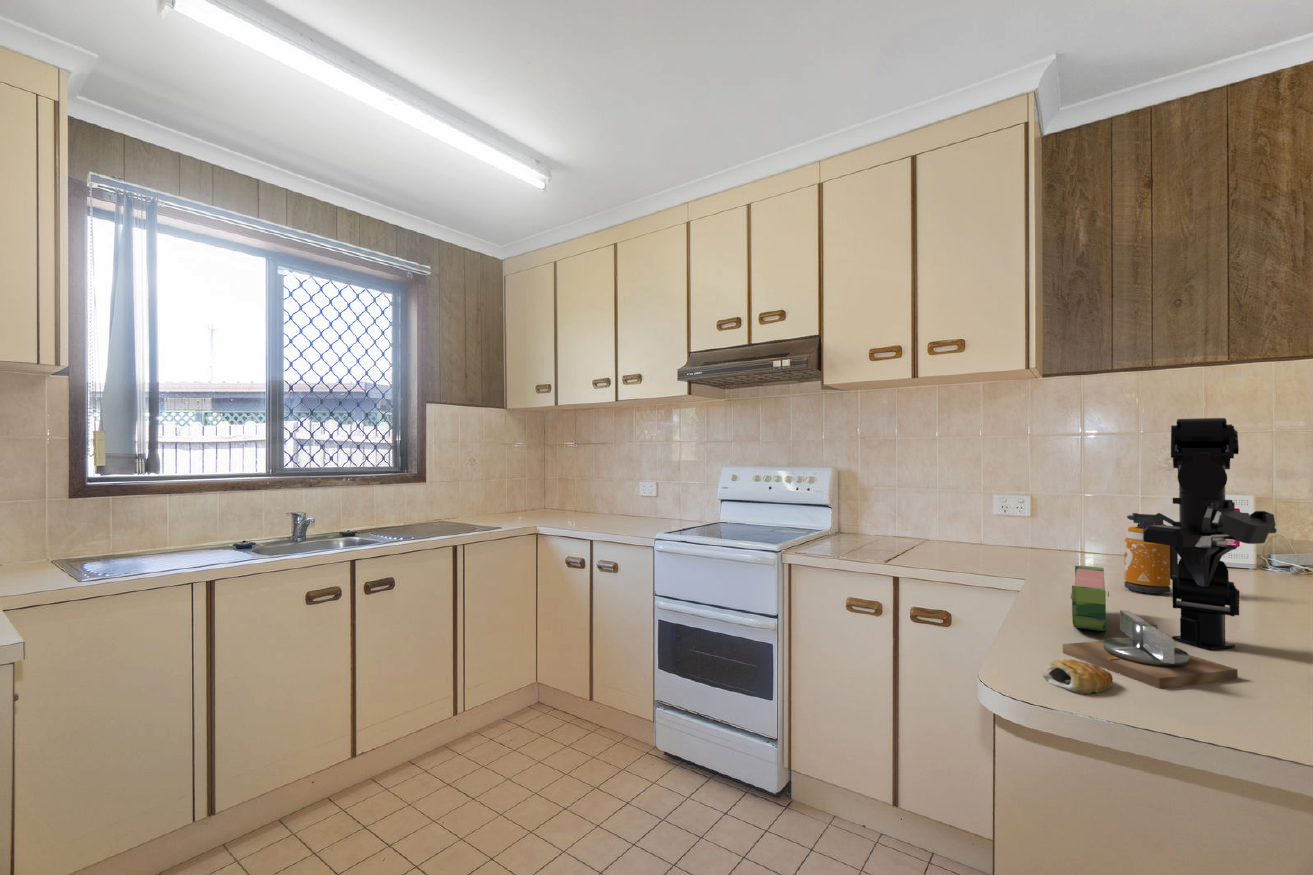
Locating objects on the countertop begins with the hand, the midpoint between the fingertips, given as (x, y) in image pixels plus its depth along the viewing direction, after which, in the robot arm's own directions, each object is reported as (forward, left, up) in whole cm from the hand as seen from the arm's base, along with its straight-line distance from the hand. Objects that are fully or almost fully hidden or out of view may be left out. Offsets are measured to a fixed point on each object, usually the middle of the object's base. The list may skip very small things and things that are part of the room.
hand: (1202, 586), depth 100 cm
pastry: (+29, +2, -14) cm, 32 cm away
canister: (-45, -41, -13) cm, 62 cm away
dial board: (+10, -2, -13) cm, 17 cm away
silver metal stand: (+10, -2, -11) cm, 15 cm away
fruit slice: (-3, -22, -13) cm, 26 cm away
